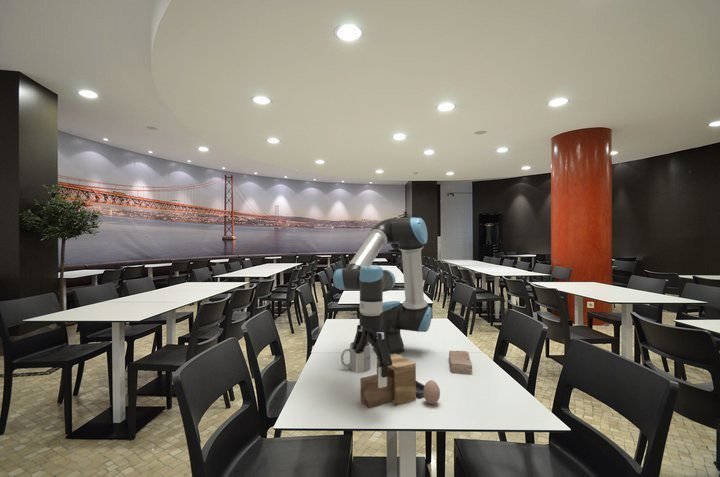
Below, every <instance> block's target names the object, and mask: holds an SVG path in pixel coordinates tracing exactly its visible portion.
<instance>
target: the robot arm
mask: <svg viewBox="0 0 720 477" xmlns="http://www.w3.org/2000/svg"><path fill="white" fill-rule="evenodd" d="M428 237H429V236H428V229H427V225H426V222H425V220H424V219H422V217H414V216H413V217H397V218H393V217H391V218H387V219H384V220H382V221H380V222H378V223H377V224H375V225H374V226H373V227H372V228H371V229H370V230H369V232H368V233H367V235H366V239H365V241H364V242H363V243H362V245H361V247H360V248H359V249H358V251H356V253H355V255H354V256H353V257H352V259H351V260H350V262H349V263H348V264H347V265H346V267H345V268H338V269H336V270H335V271H334V273H333V276H332V277H333V278H332V280H333V281H332V282H333V284H334V285H333V286H334V287H335V288H336V289H339V290H344V291H347V290H349V291H359V312H360V313H359V321H358V322H359V324H357V326H356V333H355V335H354V336H355V337H354V340H353V342H354V343H353V346H352V349H353V350H355V353H356V372H355V374H362V373H364V353H361V352H364V348H365V346H366V344H367V343H368V342H369V343H370V347H372V350H373V351H374V353H375V355H376V359H377V358H378V361H379V364H380V365H379V366H378V388H383V387H387V367H388V366H390V365H392V360H391V356H390V354H397V355H399V354H401V353H403V352H405V345H404V341H403V339H402V338H403V337H402V334H401V330H402V331H409V332H417V333H419V332H420V333H425V332H426V333H427V331H428V330H429V329H430V327H431V323H432V317H433V316H432V315H433V309H432V307H431V306H428V301H427V300H425V298H424V297H425V296H424V295H425V294H424V281H423V277H424V276H423V265H422V264H423V263H422V250H423V249H424V247H425V245H426V244H427V242H428ZM390 244H393V245H394V244H397V246H398V247H397V248H398V250H399V251H400V252H401V256H402V257H401V258H402V270H403V271H402V272H403V273H402V274H403V283H404V284H403V285H404V287H403V288H404V298H405V299H404V301H403V302H402V304H401V302H400V301H398V300H392V301H391V300H390V301H389V300H388V301H384V300H383V299H384V298H383V297H384V296H383V295H384V294H383V293H384V292H389V291H390V290H391V289H393V288H394V286H395V284H396V276H395V274H394V273H393V272H392V271H390V270H389V269H388V270H387V269H383V267H382V266H381V265H372V264H373V262H374V261H375V260H376V257H377V256H378V254H379V253H380V251H381V250H382V249H383V248H385V247H386V246H387V245H390ZM356 345H357V346H356ZM382 361H383V362H382Z"/></svg>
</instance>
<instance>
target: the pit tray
mask: <svg viewBox="0 0 720 477" xmlns="http://www.w3.org/2000/svg"><path fill="white" fill-rule="evenodd" d="M424 386H425V384H423V383H422V382H420V381H418V380H416V399H418V400H419V399H423V398H424V395H423V390H424Z"/></svg>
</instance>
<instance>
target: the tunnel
mask: <svg viewBox="0 0 720 477" xmlns="http://www.w3.org/2000/svg"><path fill="white" fill-rule="evenodd" d="M390 356H391V360H392V365H390V366H388V367H387V372H388V371H392V370H394V401H393V404H394V406H396V407H398V406H401V405H405V404H409V403H411V402H415V401H416V400H417V397H416V381H417V373H416V372H417V363H416V362H414V361H412V360H410V359H408V358H406V357H404V356H401V355H399V354H390ZM382 362H383V361H382ZM379 365H380V364H379V361H378V358H377V357H376V374H378V366H379Z"/></svg>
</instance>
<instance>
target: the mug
mask: <svg viewBox="0 0 720 477" xmlns="http://www.w3.org/2000/svg"><path fill="white" fill-rule="evenodd" d="M353 343H354V341H352V342H350V343H349V348H345V349H344V350H343V351H342V352H341V356H340V357H341V358H340V361H341V364H342V365H343V366H344V367H345V368H349V370H351V371H352V372H355V373H356V353H355V350H353V349H352V346H353ZM356 346H357V345H356ZM347 352H349V363H347V364H346V363H345V362H344V355H345V353H347ZM361 353H364V372H368V371H370V370H371V344H370V343H369V342H368V343H367V344H366V346H365V348H364V352H361ZM364 372H363V373H364Z"/></svg>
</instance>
